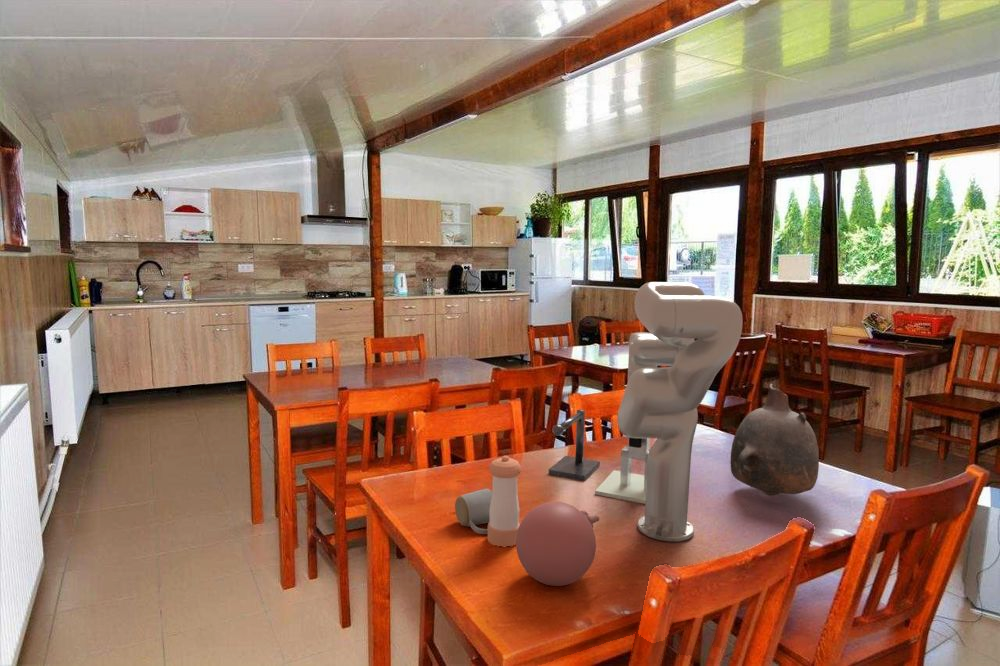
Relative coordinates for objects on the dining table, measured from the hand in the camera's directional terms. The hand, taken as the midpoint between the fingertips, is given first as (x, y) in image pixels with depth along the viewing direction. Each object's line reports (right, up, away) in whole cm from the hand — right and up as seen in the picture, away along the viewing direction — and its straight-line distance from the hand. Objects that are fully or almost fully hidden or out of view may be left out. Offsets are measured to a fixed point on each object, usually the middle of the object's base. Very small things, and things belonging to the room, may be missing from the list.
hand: (639, 442), depth 166 cm
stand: (-18, -12, +12) cm, 24 cm away
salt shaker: (-37, -17, -29) cm, 50 cm away
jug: (+35, -14, -1) cm, 38 cm away
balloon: (-25, -19, -45) cm, 55 cm away
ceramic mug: (-42, -16, -22) cm, 50 cm away
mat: (0, -13, +2) cm, 13 cm away
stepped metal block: (0, -12, +1) cm, 12 cm away
